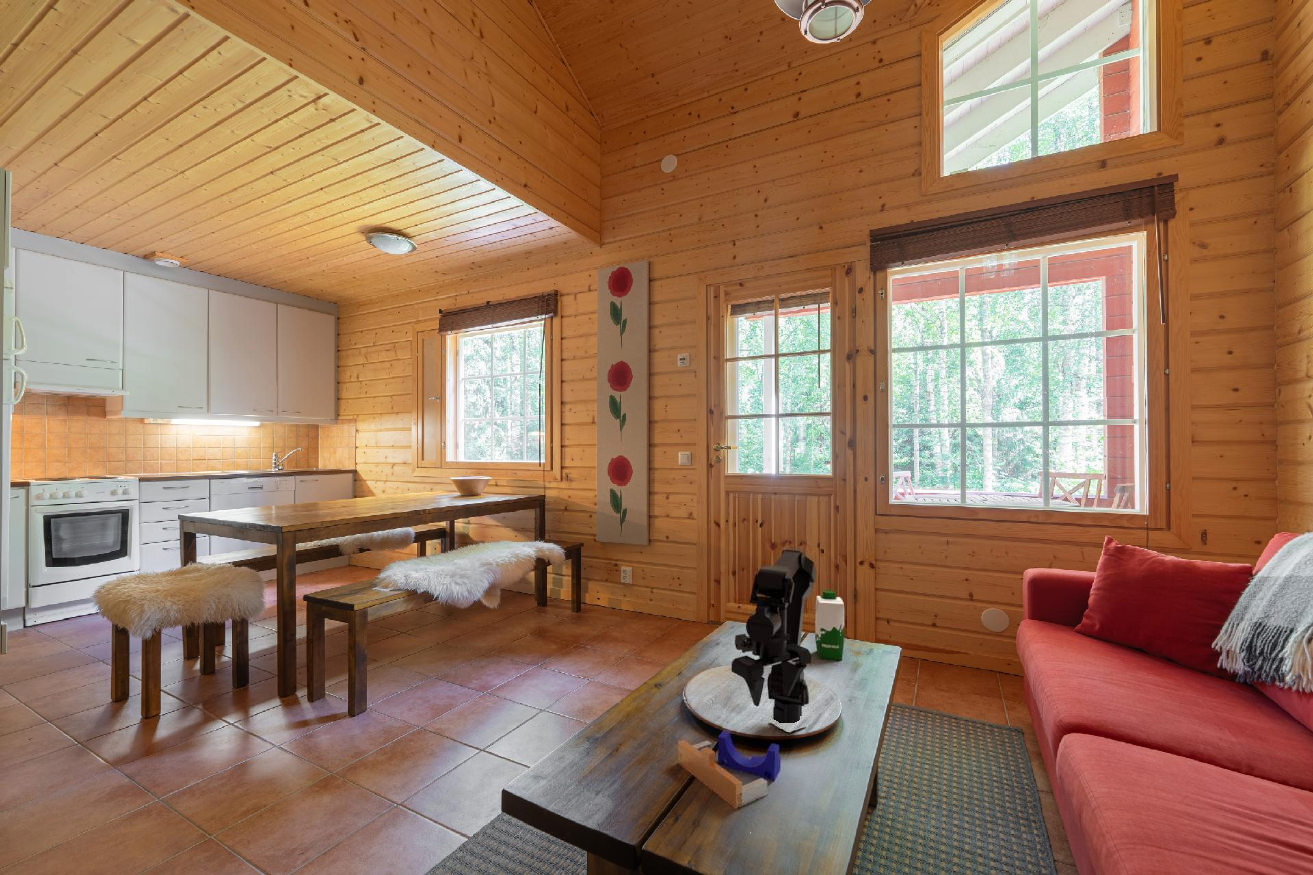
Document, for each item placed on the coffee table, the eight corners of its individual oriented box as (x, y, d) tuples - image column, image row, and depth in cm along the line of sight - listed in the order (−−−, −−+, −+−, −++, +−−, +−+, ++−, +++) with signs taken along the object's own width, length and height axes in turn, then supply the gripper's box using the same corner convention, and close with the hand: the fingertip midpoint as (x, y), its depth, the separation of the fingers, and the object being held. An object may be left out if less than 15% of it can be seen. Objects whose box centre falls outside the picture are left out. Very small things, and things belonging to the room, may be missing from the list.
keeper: (707, 751, 124) (707, 722, 124) (767, 794, 109) (767, 760, 109) (677, 762, 119) (678, 731, 119) (735, 808, 104) (736, 773, 104)
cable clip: (780, 770, 117) (780, 741, 117) (774, 782, 113) (774, 751, 113) (725, 755, 123) (725, 727, 123) (717, 765, 119) (718, 736, 119)
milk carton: (841, 651, 187) (842, 590, 187) (845, 661, 178) (846, 597, 178) (813, 649, 188) (814, 588, 188) (816, 659, 179) (817, 595, 179)
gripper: (776, 611, 135) (775, 677, 135) (715, 624, 124) (714, 696, 124) (813, 624, 125) (812, 695, 125) (750, 640, 115) (749, 717, 115)
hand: (771, 700), depth 123 cm, fingers open, 9 cm apart
